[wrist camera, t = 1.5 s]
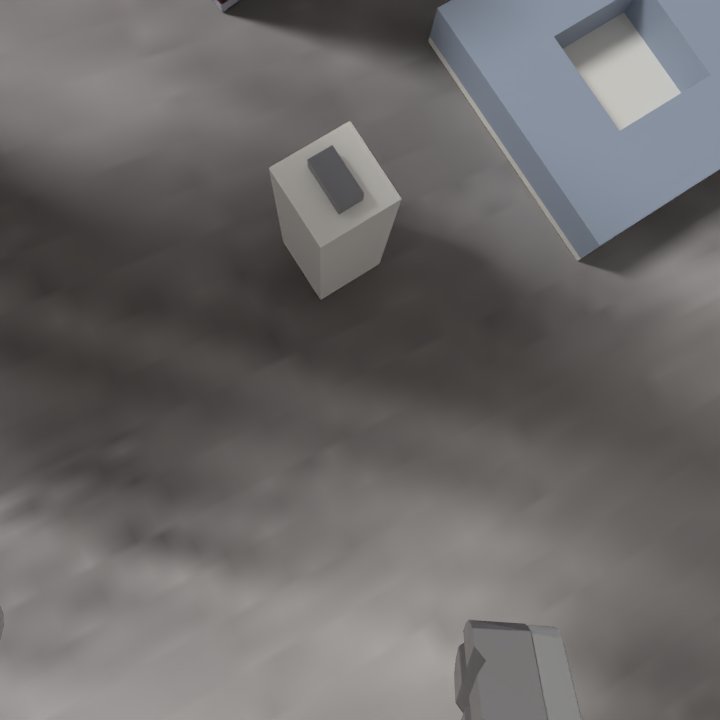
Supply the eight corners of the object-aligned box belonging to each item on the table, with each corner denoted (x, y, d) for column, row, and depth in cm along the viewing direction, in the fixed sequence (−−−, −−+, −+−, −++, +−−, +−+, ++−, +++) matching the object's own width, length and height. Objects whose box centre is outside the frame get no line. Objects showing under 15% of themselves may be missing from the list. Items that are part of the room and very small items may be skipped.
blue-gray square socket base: (428, 41, 38) (437, 7, 35) (636, -78, 40) (662, -120, 37) (577, 261, 37) (599, 245, 34) (784, 128, 39) (823, 102, 36)
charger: (283, 241, 36) (267, 160, 25) (342, 206, 36) (350, 112, 26) (320, 300, 35) (320, 242, 25) (379, 263, 36) (403, 192, 25)
